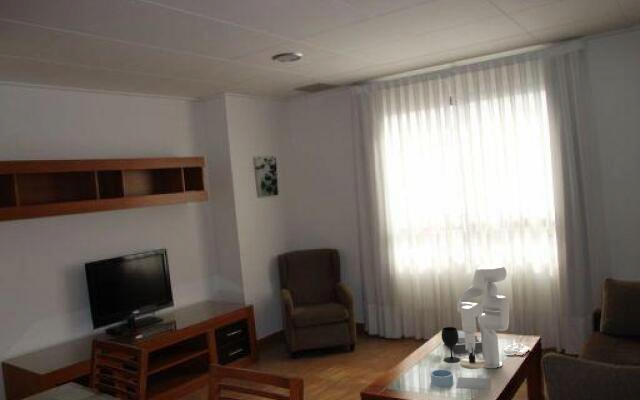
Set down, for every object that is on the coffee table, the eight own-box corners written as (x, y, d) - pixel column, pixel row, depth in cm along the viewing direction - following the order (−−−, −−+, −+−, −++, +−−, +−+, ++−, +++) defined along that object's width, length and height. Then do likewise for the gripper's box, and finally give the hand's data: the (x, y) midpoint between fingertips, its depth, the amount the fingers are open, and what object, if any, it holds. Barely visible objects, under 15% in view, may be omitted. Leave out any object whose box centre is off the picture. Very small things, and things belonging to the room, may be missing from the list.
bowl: (432, 379, 305) (432, 369, 304) (454, 380, 301) (453, 369, 301) (430, 387, 293) (429, 376, 293) (452, 388, 289) (451, 377, 289)
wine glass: (442, 362, 330) (440, 331, 329) (444, 357, 340) (441, 326, 339) (460, 363, 327) (457, 331, 326) (460, 357, 337) (458, 326, 336)
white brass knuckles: (520, 358, 326) (498, 354, 337) (533, 350, 338) (512, 346, 349) (520, 353, 326) (498, 349, 337) (533, 345, 338) (512, 341, 349)
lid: (460, 359, 302) (459, 348, 301) (486, 359, 297) (485, 349, 297) (458, 368, 288) (457, 357, 288) (485, 369, 284) (484, 358, 283)
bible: (448, 355, 344) (447, 340, 343) (443, 342, 371) (442, 328, 370) (485, 353, 341) (484, 338, 341) (477, 340, 368) (476, 326, 368)
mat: (458, 378, 303) (458, 377, 303) (491, 379, 297) (490, 378, 297) (456, 389, 288) (455, 388, 288) (490, 390, 282) (490, 389, 282)
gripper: (463, 323, 301) (466, 355, 302) (461, 333, 285) (464, 366, 286) (477, 323, 298) (479, 355, 299) (475, 333, 283) (478, 366, 284)
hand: (472, 360), depth 293 cm, fingers closed on lid, 3 cm apart
